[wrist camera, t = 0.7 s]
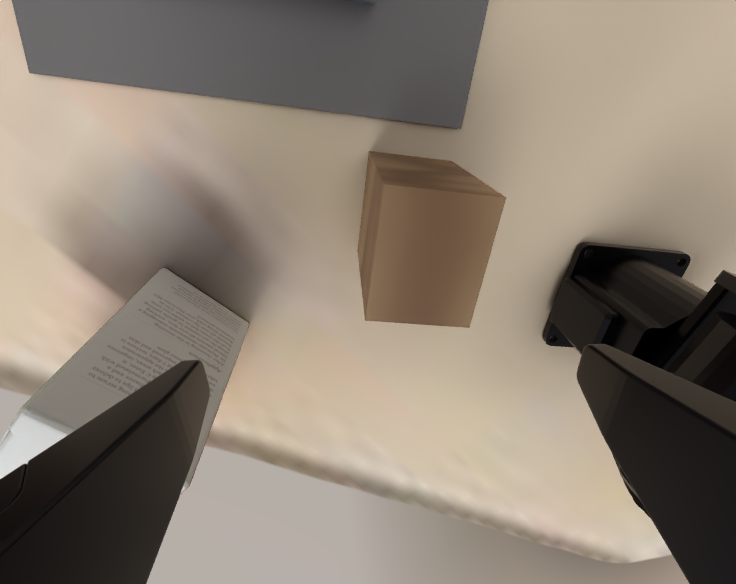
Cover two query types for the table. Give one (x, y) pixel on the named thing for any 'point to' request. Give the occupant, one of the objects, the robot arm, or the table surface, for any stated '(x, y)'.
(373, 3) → the tray
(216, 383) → the small box
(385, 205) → the short wooden block
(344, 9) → the coaster
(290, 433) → the table surface
